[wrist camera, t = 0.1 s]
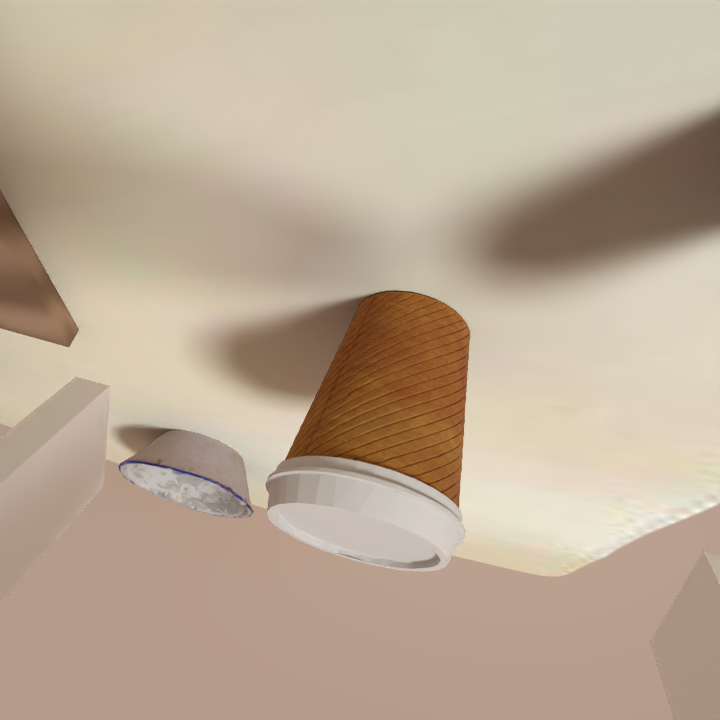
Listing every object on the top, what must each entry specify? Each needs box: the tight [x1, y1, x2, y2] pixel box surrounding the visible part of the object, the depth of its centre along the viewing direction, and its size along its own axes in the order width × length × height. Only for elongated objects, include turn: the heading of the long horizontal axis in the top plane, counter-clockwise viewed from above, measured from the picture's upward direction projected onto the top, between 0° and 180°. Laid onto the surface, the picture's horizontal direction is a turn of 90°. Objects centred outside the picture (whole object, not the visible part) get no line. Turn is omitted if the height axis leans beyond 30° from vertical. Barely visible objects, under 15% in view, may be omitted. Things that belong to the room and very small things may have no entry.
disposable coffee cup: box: [266, 292, 470, 571], centre depth 33 cm, size 10×10×12 cm
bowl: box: [119, 430, 253, 518], centre depth 63 cm, size 13×13×5 cm
